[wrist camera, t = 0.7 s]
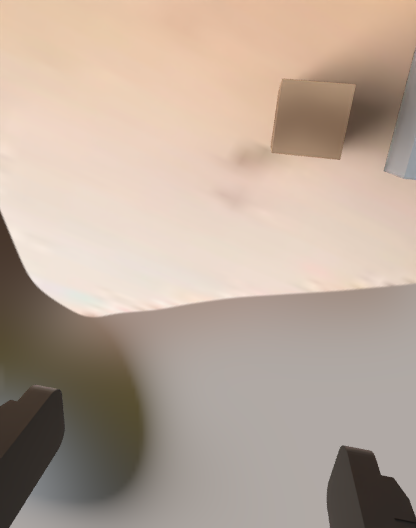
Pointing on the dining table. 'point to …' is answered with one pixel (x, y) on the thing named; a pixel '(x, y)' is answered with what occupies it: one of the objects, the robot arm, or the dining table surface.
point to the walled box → (405, 133)
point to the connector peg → (311, 118)
